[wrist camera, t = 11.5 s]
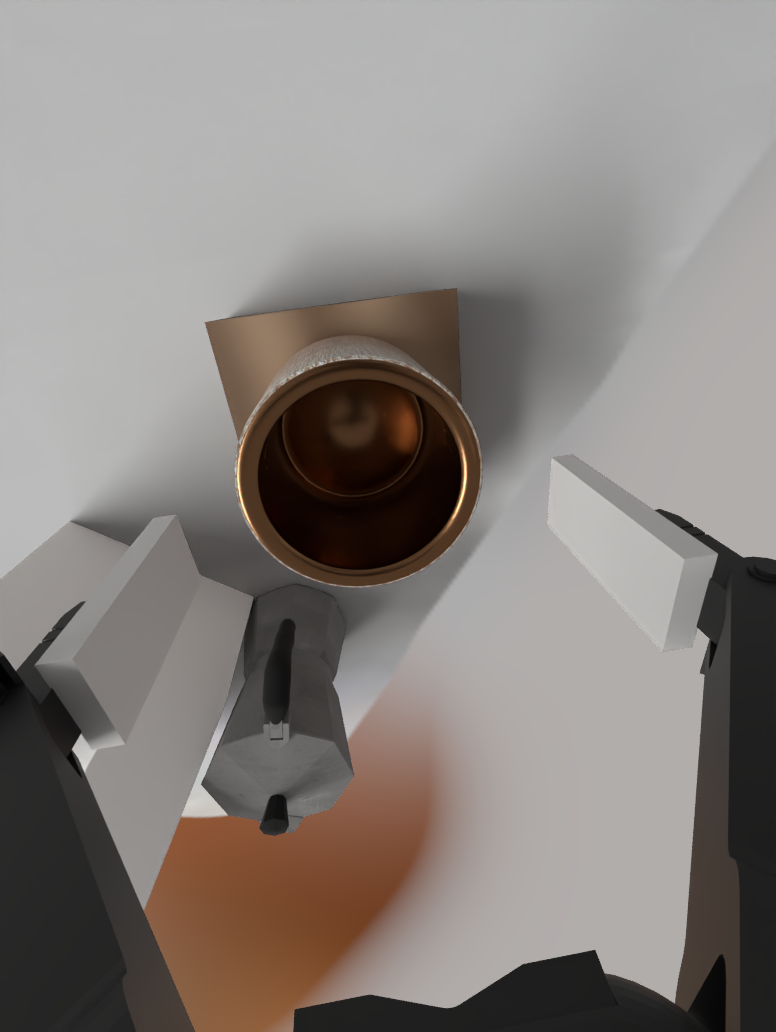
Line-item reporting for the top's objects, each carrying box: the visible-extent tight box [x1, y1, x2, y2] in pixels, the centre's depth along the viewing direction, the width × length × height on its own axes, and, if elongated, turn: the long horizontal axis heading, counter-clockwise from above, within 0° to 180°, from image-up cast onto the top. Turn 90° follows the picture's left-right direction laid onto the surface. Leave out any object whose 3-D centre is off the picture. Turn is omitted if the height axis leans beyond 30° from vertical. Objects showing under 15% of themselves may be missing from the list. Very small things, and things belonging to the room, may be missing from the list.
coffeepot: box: [201, 584, 354, 836], centre depth 33 cm, size 15×9×18 cm, turn 175°
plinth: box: [205, 288, 462, 440], centre depth 30 cm, size 14×14×6 cm
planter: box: [234, 335, 483, 587], centre depth 23 cm, size 11×11×10 cm
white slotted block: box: [0, 521, 254, 911], centre depth 29 cm, size 19×15×25 cm
